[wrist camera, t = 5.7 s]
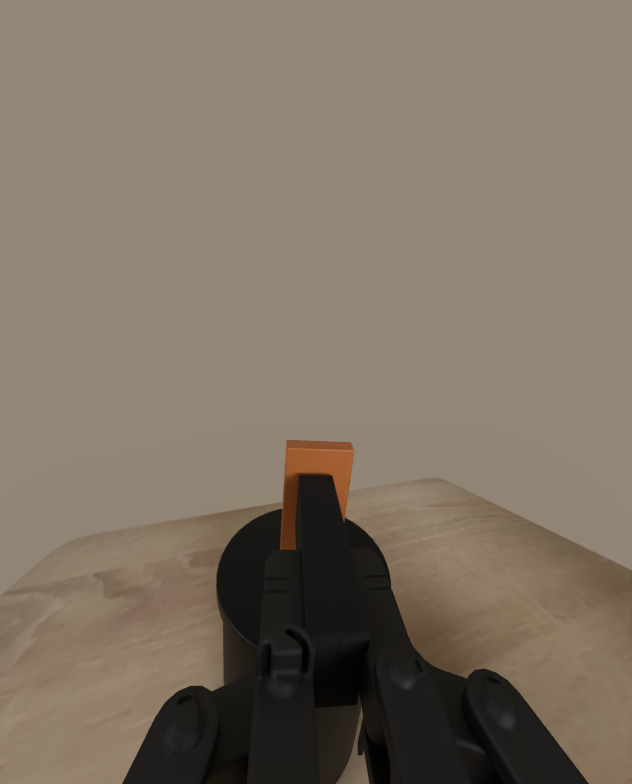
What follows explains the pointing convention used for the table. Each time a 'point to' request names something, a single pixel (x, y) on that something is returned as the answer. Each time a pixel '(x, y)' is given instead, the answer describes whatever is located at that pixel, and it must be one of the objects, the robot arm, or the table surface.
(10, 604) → the table surface
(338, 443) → the slider
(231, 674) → the travel mug
